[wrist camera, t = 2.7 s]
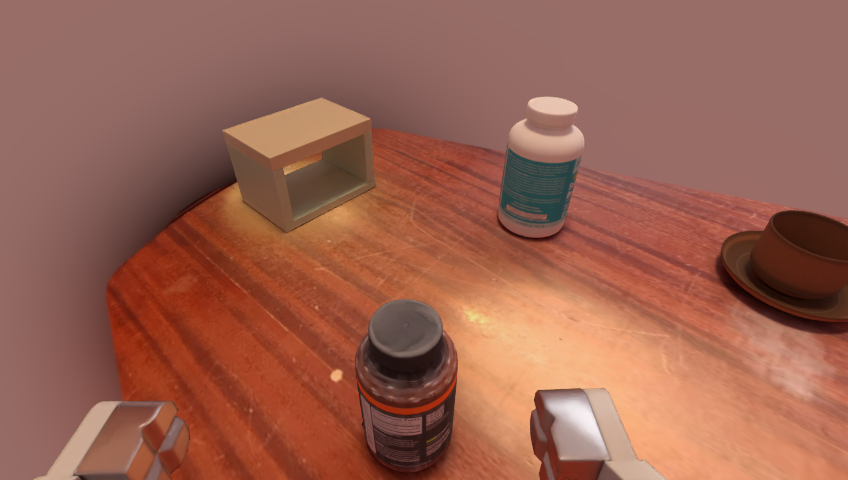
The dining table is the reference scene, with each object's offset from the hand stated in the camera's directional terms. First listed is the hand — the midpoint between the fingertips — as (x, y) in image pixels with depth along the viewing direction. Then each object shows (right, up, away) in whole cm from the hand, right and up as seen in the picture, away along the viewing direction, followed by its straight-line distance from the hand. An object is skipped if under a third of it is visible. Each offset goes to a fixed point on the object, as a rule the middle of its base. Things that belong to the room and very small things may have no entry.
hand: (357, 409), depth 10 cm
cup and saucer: (+36, -1, +33) cm, 49 cm away
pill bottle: (+14, +6, +40) cm, 43 cm away
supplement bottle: (0, -10, +21) cm, 23 cm away
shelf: (-12, +9, +44) cm, 46 cm away
